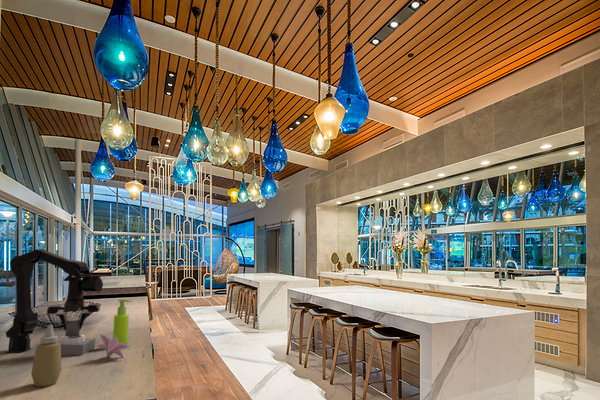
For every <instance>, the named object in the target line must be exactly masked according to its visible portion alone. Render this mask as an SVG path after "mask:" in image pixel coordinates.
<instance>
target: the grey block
mask: <svg viewBox="0 0 600 400" xmlns="http://www.w3.org/2000/svg"><path fill="white" fill-rule="evenodd" d="M80 322H81V316H69V317H67V319H66V331H65V333H64V334H65V335H64V336H77V335H81V334H80V332H81V330H80Z"/></svg>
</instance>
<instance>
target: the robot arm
mask: <svg viewBox="0 0 600 400" xmlns="http://www.w3.org/2000/svg"><path fill="white" fill-rule="evenodd" d="M40 261H43V262H45V263H47V264H50V265H52V266H55V267H57V268H60V269H61V270H62V271H63V272H64V273H66V274H67V276H66V277H65V278H64V279H63V282H68V286H67V296H66V299H65V301H64V304H63V306H62V305H60V304H56V305H50V306H48V307H47V309H46V314H47V315H55V316H56V317H59V319H60V321H61V324H62V327H63V331H65V332H66V319H67V318H68V316H67V315H68V314H67V313H70V312H71V313H77V312H80V311H82V313H81V316H80V317H81V321H80V331H81V330H82V328H83V326H84V324H85V321H86V319H87V317H88V315H91V314H92V313H98V312H99V311H100V309H101V305H100V304H99V303H90V304H88V305H85V299H83V298H84V292H85V293H100V292H101V291H102V289H103V287H104V286H103V285H104V283H103V280H102V279H101V275H92V273H91V271H90V269H89V268H88V264H87V262H85V261H81V260H75V259H69V258H65V257H63V256H60V255H58V254H56V253H52V252H50V251H48V250H47V249H43V248H42V249H41V248H40V249H39V248H38V249H37V248H36V249H33V250H32V251H30V252H27V253H23V254H21V255H16V256H13V257H12V259H10V261H9V262H10V263H9V265H10V270H11V273H12V274H13V275H14V276H15V284H16V287H15V288H16V289H15V290H16V305H17V306H16V308H17V312H16V314H15V315H14V318H13V320H12V321H13V322H12V326H11V327H10V328H8V330H6V332H5V336H6V338H9V341H8V350H6V351H5V353H7V354H8V353H23V352H25V351H29V350H30V349H31V336H30V335H32V334H33V333H34V330H35V329H36V327H38V323H39V319H38V316H39V314H38V313H39V312H34V310H32V293H31V291H32V290H31V289H32V288H31V275H32V272H33V271H34V268H35V264H38V263H40Z"/></svg>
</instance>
